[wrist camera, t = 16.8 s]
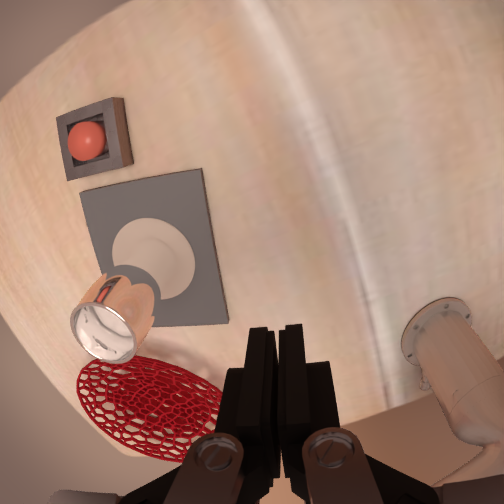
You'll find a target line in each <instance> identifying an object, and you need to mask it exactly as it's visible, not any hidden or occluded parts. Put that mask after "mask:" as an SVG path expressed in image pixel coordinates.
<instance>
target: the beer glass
mask: <svg viewBox="0 0 504 504" xmlns="http://www.w3.org/2000/svg"><path fill="white" fill-rule="evenodd" d="M176 269H177V260H176V257H175V254H174V252H173V251H172V249H171V248H170V247H169V246H168V245H167V244H165V243H164V242H162V241H160V240H157V239H145V240H142V241H140V242H138V243H137V244H136V245H135V246H134V247H133V249H132V251H131V253H130V255H129V257H128V259H126V260H125V261H124V262H122V263H120V264H118V265H117V266H115V267H113V268H112V269H110V270H109V271H107V272H106V273H105V274H103V275H102V276H101V277H100V278H99V279H98V280H97V281H96V282H95V283H94V284H93V285H92V286H91V287H90V288H89V290H88V291H87V292H86V293H85V295H84V296H83V298H82V299H81V301H80V302H79V304H78V305H77V306H76V307H75V309H74V310H73V312H72V314H71V318H70V324H71V329H72V332H73V334H74V336H75V338H76V340H77V341H78V343H79V344H80V345H81V346H82V347H83V348H84V349H85V350H86V351H87V352H88V353H89V354H91V355H92V356H94V357H95V358H97V359H99V360H101V361H104V362H107V363H112V364H121V363H125V362H128V361H129V360H131V359H132V358H133V357H134V355H135V354H136V351H137V350H138V348H139V347H140V345H141V344H142V342H143V341H144V339H145V338H146V336H147V334H148V332H149V331H150V329H151V327H152V325H153V322H154V320H155V318H156V315H157V312H158V308H159V304H160V300H161V295H162V290H163V287H164V286H165V284H167V283H168V282H169V281H170V280H171V279H172V278H173V276H174V275H175V273H176Z"/></svg>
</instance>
